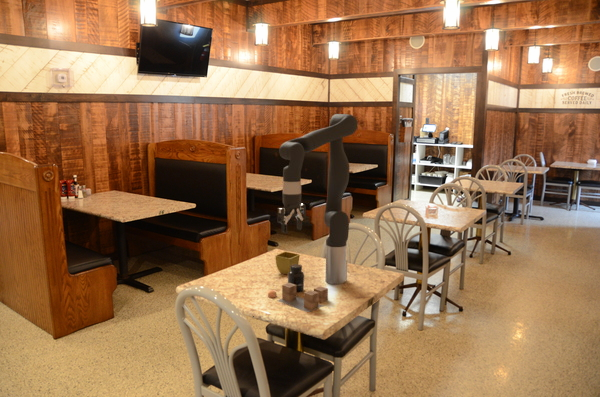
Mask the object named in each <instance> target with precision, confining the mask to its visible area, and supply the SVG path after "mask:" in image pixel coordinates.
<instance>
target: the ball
mask: <svg viewBox="0 0 600 397" xmlns="http://www.w3.org/2000/svg"><path fill="white" fill-rule="evenodd" d="M276 297H277V292H276V290H274V289H273V290H269V291H268V293H267V298H272V299H274V298H276Z"/></svg>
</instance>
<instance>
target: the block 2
mask: <svg viewBox="0 0 600 397" xmlns="http://www.w3.org/2000/svg"><path fill="white" fill-rule="evenodd" d="M303 299H304V308H307V309H310V310H313V309H315V310H317V309H316V308H318V306H319V304H320V302H319V293H318V292H315V291H314V290H312V289H310V290H307V291H304V292H303ZM318 309H319V308H318ZM313 311H314V310H313Z"/></svg>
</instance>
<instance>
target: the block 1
mask: <svg viewBox="0 0 600 397" xmlns="http://www.w3.org/2000/svg"><path fill="white" fill-rule="evenodd" d="M281 287H282V290H281V292H282V295H281V296H282V298H281V299H283V300H286V301H288V302H290V301H293V300H295V299H296V296H297V293H296V285H295V284H292V283H288V282H287V283H285V284H282V285H281Z"/></svg>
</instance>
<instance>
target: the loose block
mask: <svg viewBox="0 0 600 397" xmlns="http://www.w3.org/2000/svg"><path fill="white" fill-rule="evenodd" d="M313 291H315V292H318V293H319V303H323V302H326V301H329V300H328V299H329V298H328V297H329V295H328V294H329V289H328V288H327V287H323V286H322V285H320V286H317V287H315V288H313Z"/></svg>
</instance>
